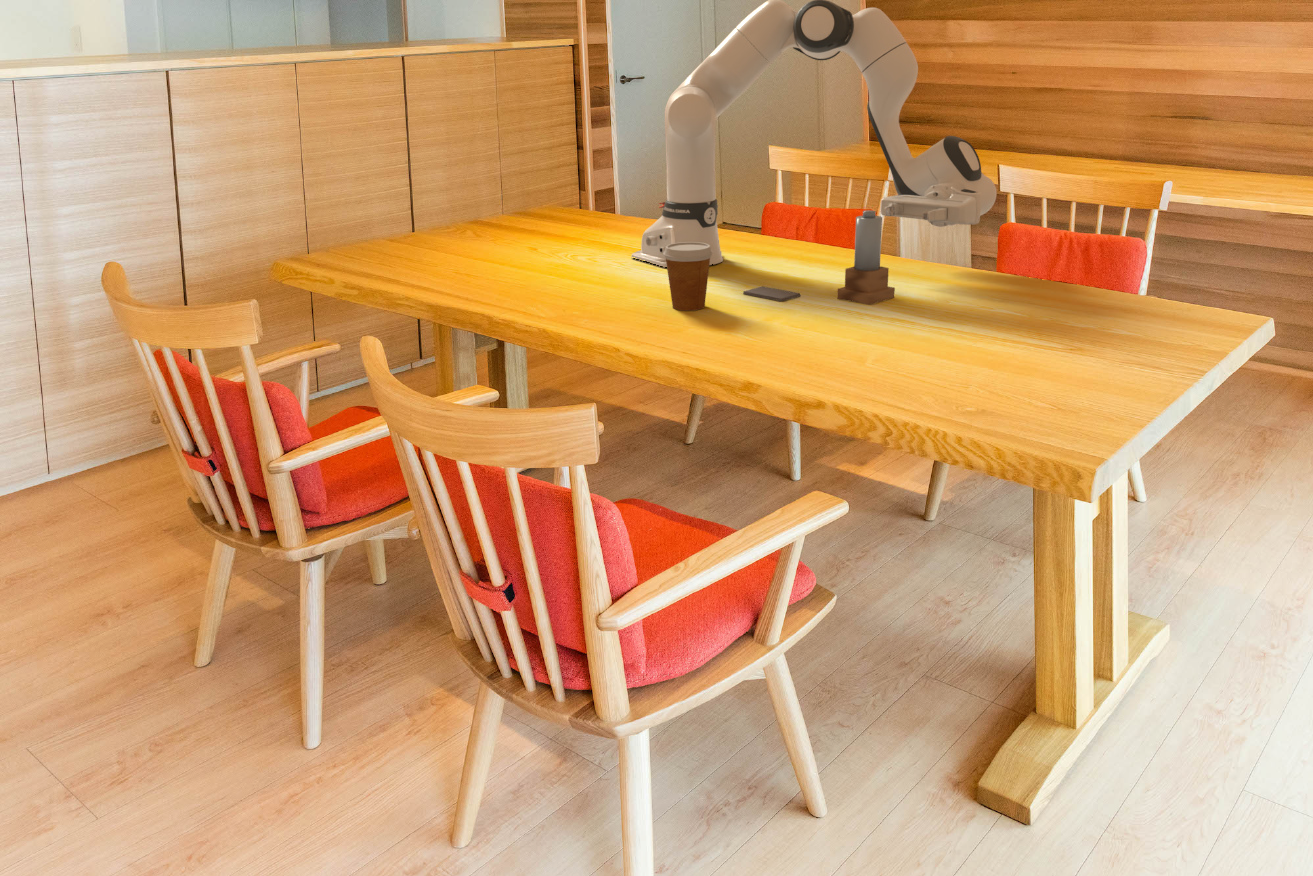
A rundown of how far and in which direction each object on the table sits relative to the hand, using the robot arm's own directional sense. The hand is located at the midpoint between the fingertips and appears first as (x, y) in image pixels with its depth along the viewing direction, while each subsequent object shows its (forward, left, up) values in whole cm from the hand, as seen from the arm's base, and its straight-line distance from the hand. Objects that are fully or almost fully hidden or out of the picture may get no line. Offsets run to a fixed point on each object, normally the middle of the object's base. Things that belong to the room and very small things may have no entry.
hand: (906, 214), depth 229 cm
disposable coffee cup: (-22, -40, -15) cm, 49 cm away
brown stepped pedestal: (0, -12, -15) cm, 19 cm away
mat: (-16, -22, -15) cm, 31 cm away
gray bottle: (0, -12, -9) cm, 15 cm away
